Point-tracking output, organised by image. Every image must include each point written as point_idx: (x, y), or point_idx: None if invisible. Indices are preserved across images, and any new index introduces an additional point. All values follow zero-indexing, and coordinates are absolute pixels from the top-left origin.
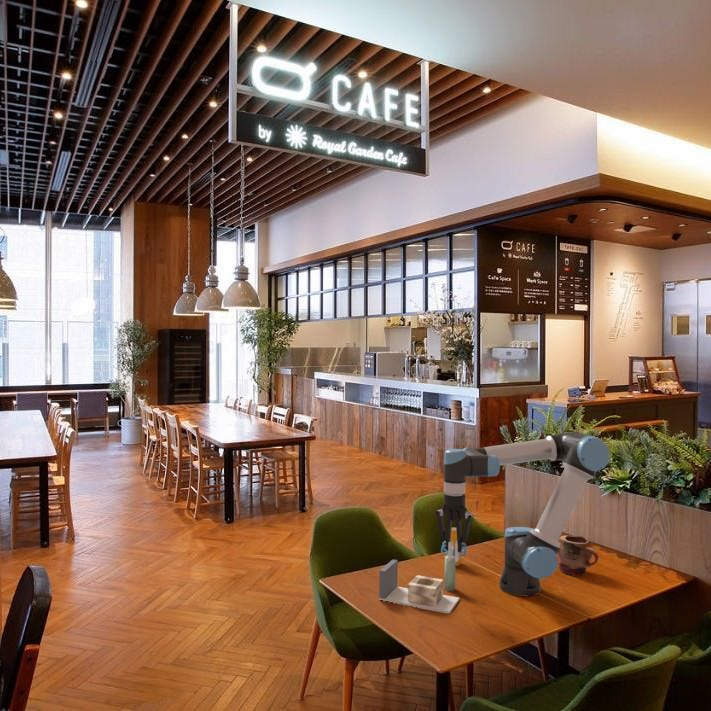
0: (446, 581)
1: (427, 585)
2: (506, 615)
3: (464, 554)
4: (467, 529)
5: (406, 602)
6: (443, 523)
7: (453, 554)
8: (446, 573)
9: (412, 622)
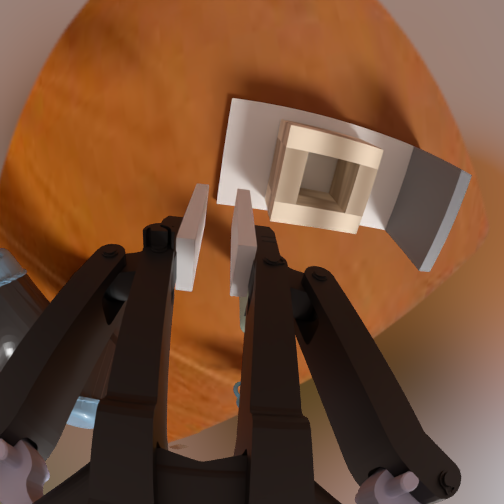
0: None
1: (320, 153)
2: (87, 150)
3: (236, 384)
4: (35, 325)
5: (362, 133)
6: (333, 404)
7: None
8: None
9: (329, 26)
